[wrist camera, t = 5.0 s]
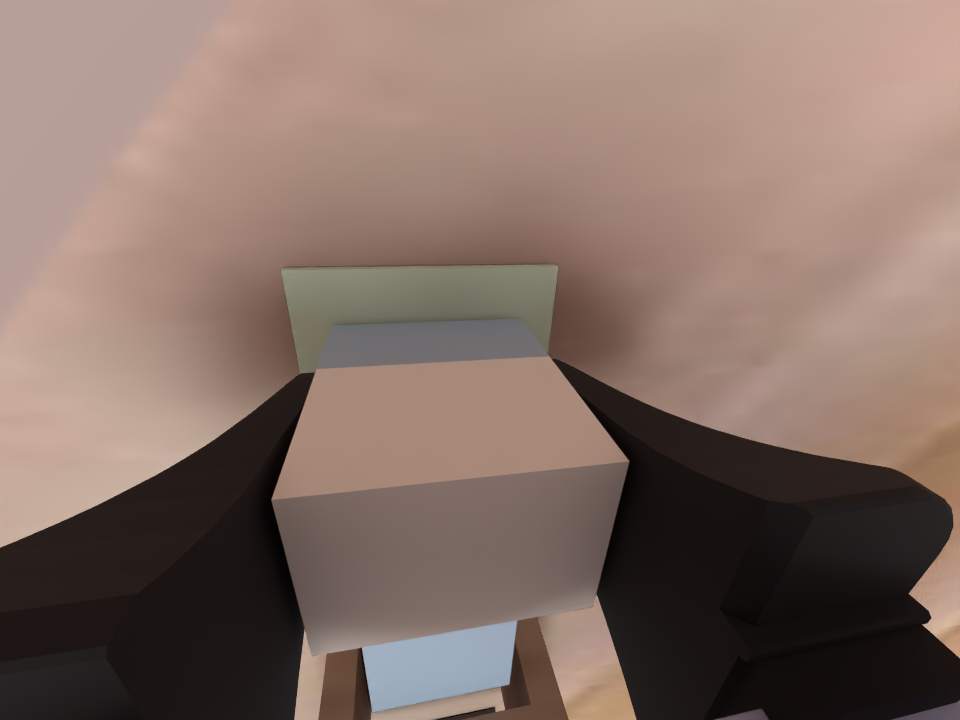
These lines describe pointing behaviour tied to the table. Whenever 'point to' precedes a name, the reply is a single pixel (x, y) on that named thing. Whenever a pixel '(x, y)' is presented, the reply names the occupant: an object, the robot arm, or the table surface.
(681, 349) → the table surface
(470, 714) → the pad
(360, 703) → the tunnel
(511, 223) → the table surface
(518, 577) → the block
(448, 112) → the table surface
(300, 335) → the mat
